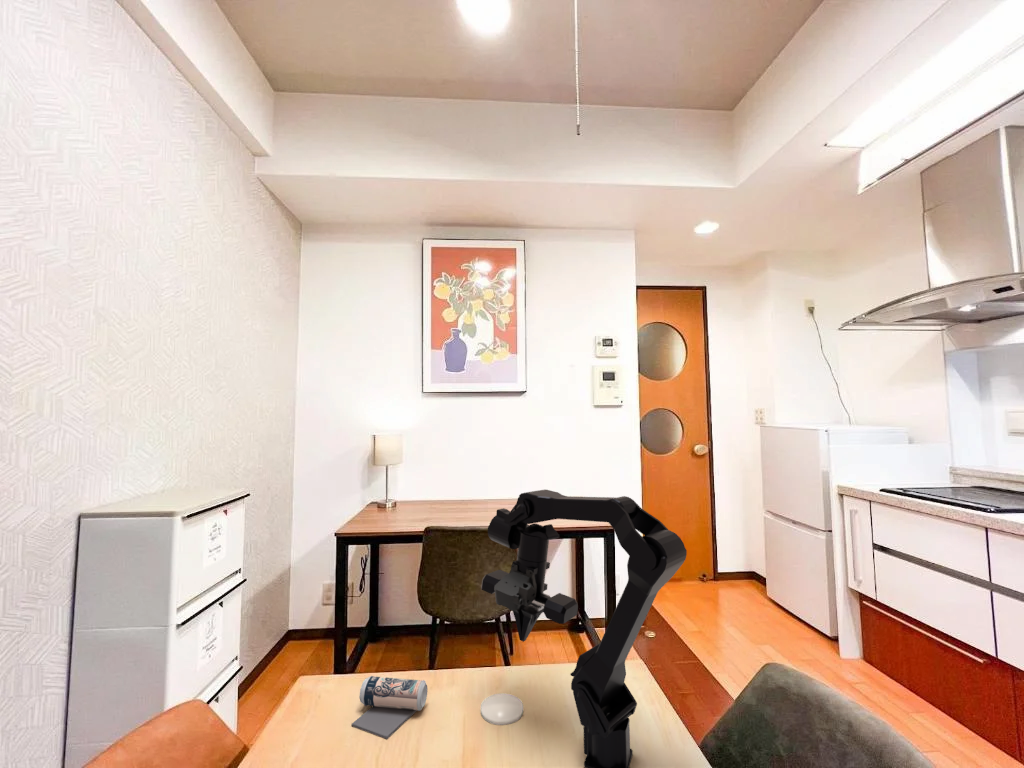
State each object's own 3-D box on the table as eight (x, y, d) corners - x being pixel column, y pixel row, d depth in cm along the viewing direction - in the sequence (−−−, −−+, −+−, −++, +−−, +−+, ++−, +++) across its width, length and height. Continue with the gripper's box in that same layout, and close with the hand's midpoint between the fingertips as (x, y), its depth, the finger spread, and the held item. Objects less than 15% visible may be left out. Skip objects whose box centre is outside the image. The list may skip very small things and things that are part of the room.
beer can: (419, 691, 81) (358, 685, 83) (419, 717, 81) (358, 711, 83) (428, 674, 86) (370, 669, 88) (428, 699, 86) (370, 694, 88)
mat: (422, 705, 85) (422, 703, 85) (387, 739, 76) (387, 736, 76) (389, 695, 88) (389, 693, 89) (351, 726, 79) (351, 723, 80)
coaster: (529, 704, 86) (529, 699, 86) (512, 730, 78) (512, 725, 78) (492, 693, 89) (492, 689, 89) (472, 717, 82) (472, 712, 82)
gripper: (467, 551, 84) (457, 635, 83) (552, 583, 73) (542, 681, 72) (503, 540, 93) (494, 617, 92) (583, 568, 82) (574, 654, 81)
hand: (522, 640), depth 84 cm, fingers closed
